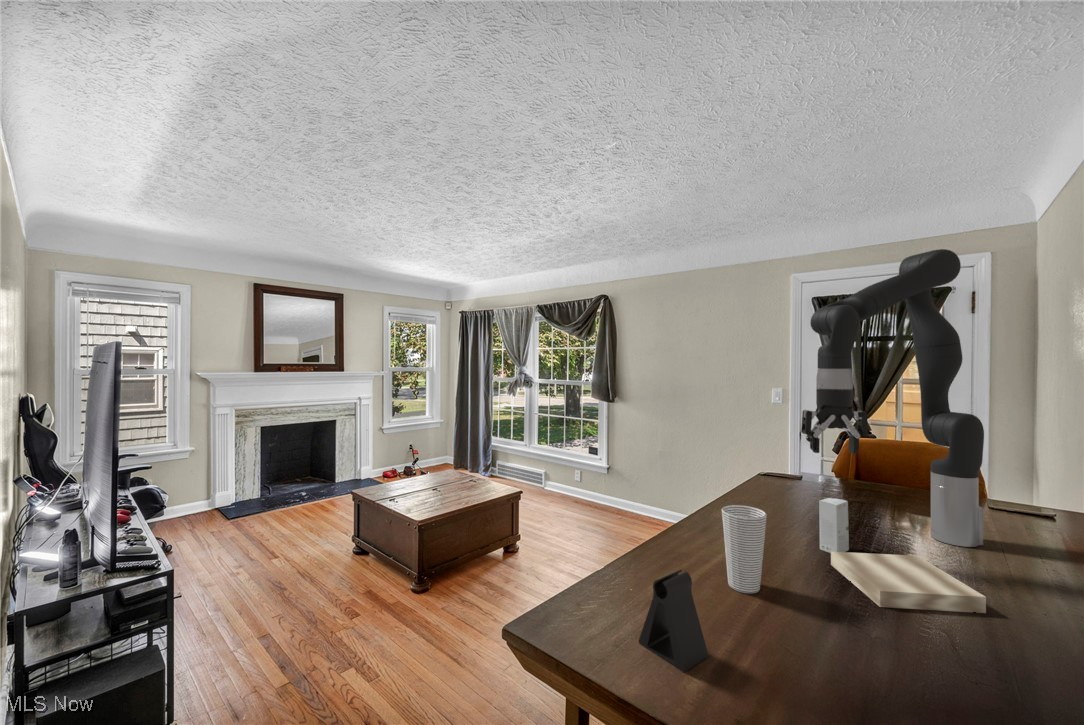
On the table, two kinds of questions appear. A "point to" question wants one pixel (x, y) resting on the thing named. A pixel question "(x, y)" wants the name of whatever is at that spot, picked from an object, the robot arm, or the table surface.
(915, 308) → the robot arm
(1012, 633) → the table surface
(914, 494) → the table surface
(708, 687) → the table surface
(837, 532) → the skincare box
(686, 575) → the phone stand
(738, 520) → the cup
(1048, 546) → the table surface
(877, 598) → the base block
